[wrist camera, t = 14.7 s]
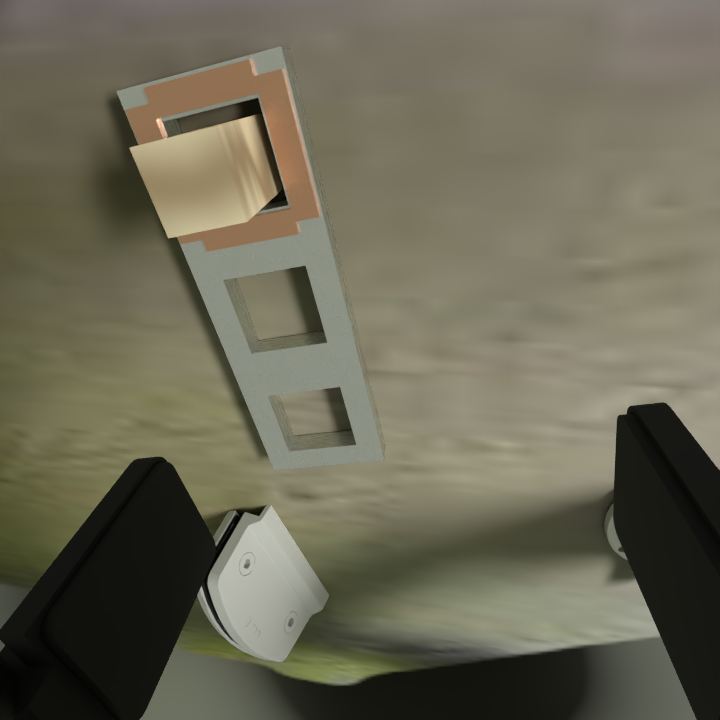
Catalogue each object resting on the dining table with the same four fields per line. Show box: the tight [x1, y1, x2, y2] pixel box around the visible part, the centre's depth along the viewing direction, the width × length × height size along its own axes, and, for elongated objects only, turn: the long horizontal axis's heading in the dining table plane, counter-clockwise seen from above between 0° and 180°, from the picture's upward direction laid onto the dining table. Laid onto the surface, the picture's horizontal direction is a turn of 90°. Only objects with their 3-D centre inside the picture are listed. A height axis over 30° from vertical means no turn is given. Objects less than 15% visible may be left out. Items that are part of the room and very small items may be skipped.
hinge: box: [197, 505, 329, 662], centre depth 48 cm, size 17×5×10 cm, turn 20°
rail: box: [116, 46, 385, 470], centre depth 34 cm, size 30×10×2 cm, turn 12°
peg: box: [130, 113, 283, 238], centre depth 26 cm, size 4×4×8 cm
